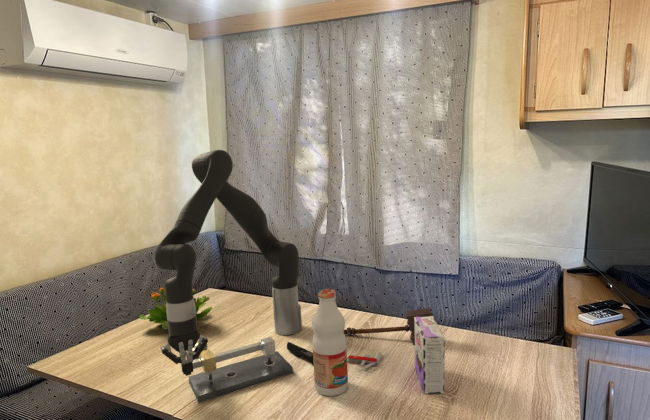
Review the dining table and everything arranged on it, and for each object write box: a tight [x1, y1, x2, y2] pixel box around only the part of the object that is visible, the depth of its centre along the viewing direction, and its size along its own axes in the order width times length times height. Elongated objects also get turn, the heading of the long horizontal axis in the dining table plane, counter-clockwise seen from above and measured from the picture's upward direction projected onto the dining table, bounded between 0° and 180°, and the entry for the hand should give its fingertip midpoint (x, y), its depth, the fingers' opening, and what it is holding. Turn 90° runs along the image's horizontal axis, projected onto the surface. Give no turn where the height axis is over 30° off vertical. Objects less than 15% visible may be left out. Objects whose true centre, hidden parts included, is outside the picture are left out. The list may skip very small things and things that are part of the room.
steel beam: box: [193, 336, 276, 370], centre depth 129 cm, size 24×6×7 cm, turn 119°
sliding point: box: [198, 348, 217, 380], centre depth 126 cm, size 3×7×7 cm, turn 29°
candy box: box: [414, 315, 446, 395], centre depth 122 cm, size 14×6×16 cm, turn 178°
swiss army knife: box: [347, 351, 382, 373], centre depth 135 cm, size 12×14×2 cm
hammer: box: [344, 307, 434, 346], centre depth 150 cm, size 7×33×10 cm, turn 74°
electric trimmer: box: [286, 341, 314, 367], centre depth 140 cm, size 4×16×3 cm, turn 42°
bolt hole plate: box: [188, 350, 294, 404], centre depth 129 cm, size 28×12×2 cm, turn 119°
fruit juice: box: [311, 288, 349, 397], centre depth 120 cm, size 9×9×28 cm
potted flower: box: [139, 287, 213, 330], centre depth 168 cm, size 25×24×18 cm
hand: (187, 374), depth 121 cm, fingers closed
